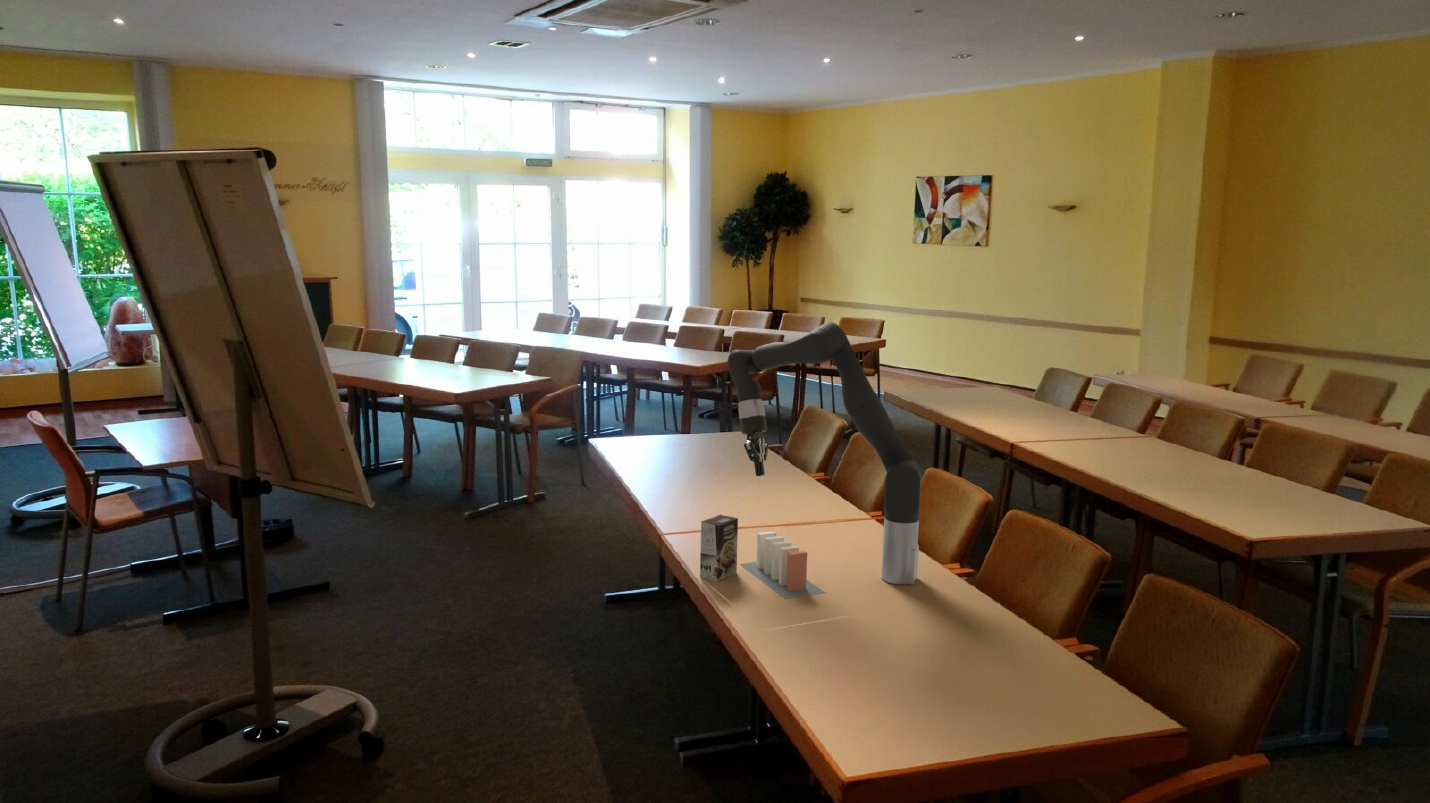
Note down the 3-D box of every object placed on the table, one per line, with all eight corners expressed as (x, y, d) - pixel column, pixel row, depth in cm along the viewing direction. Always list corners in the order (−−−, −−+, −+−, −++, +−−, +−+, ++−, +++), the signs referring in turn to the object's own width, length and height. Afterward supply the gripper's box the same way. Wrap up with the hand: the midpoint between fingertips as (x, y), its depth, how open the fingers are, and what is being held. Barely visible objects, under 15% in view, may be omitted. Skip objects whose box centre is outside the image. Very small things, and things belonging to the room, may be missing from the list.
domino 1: (772, 565, 271) (773, 531, 270) (775, 566, 270) (776, 532, 268) (756, 567, 269) (757, 532, 268) (759, 568, 268) (760, 534, 266)
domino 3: (787, 575, 263) (788, 540, 261) (790, 577, 262) (791, 542, 260) (771, 577, 261) (772, 542, 259) (773, 579, 260) (774, 544, 258)
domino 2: (779, 570, 267) (780, 535, 266) (782, 572, 266) (783, 537, 264) (763, 572, 265) (764, 537, 264) (766, 574, 264) (767, 539, 262)
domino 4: (795, 580, 259) (796, 545, 257) (797, 582, 258) (799, 547, 256) (778, 583, 257) (779, 547, 255) (781, 585, 256) (782, 549, 254)
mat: (739, 565, 272) (739, 563, 272) (776, 560, 277) (776, 558, 276) (784, 600, 247) (784, 598, 246) (825, 593, 251) (825, 592, 251)
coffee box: (717, 583, 258) (719, 525, 255) (699, 577, 262) (699, 520, 259) (737, 574, 265) (739, 517, 262) (719, 568, 269) (720, 513, 266)
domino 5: (803, 586, 255) (804, 550, 253) (806, 588, 254) (807, 552, 252) (786, 589, 253) (787, 552, 251) (789, 591, 252) (790, 554, 250)
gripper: (749, 420, 287) (757, 478, 284) (731, 417, 275) (739, 477, 272) (772, 416, 284) (781, 474, 281) (755, 412, 272) (763, 473, 269)
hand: (760, 475), depth 276 cm, fingers closed
